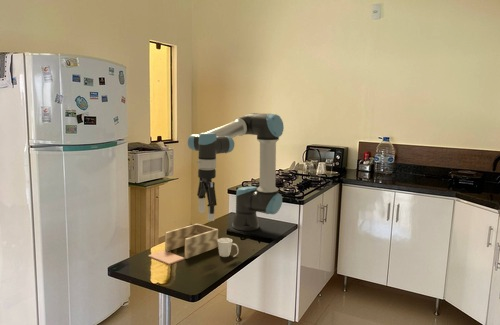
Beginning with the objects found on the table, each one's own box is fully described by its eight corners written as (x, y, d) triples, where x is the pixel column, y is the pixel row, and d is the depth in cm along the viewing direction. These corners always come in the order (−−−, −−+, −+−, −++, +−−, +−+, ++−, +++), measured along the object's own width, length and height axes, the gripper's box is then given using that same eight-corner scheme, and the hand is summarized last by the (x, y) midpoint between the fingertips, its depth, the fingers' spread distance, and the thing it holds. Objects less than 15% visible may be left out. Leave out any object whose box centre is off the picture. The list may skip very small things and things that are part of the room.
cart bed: (196, 242, 191) (197, 223, 189) (217, 249, 182) (218, 229, 181) (165, 253, 175) (165, 232, 174) (186, 261, 166) (186, 239, 165)
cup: (220, 253, 177) (220, 236, 176) (240, 257, 174) (241, 239, 173) (214, 259, 170) (214, 241, 169) (235, 262, 167) (235, 244, 166)
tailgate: (164, 249, 174) (148, 255, 167) (185, 257, 166) (169, 263, 159) (164, 252, 174) (148, 257, 167) (185, 260, 166) (169, 266, 159)
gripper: (190, 164, 176) (190, 210, 178) (207, 173, 153) (206, 225, 156) (206, 164, 179) (205, 208, 181) (225, 172, 156) (223, 223, 159)
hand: (206, 216), depth 169 cm, fingers open, 13 cm apart
